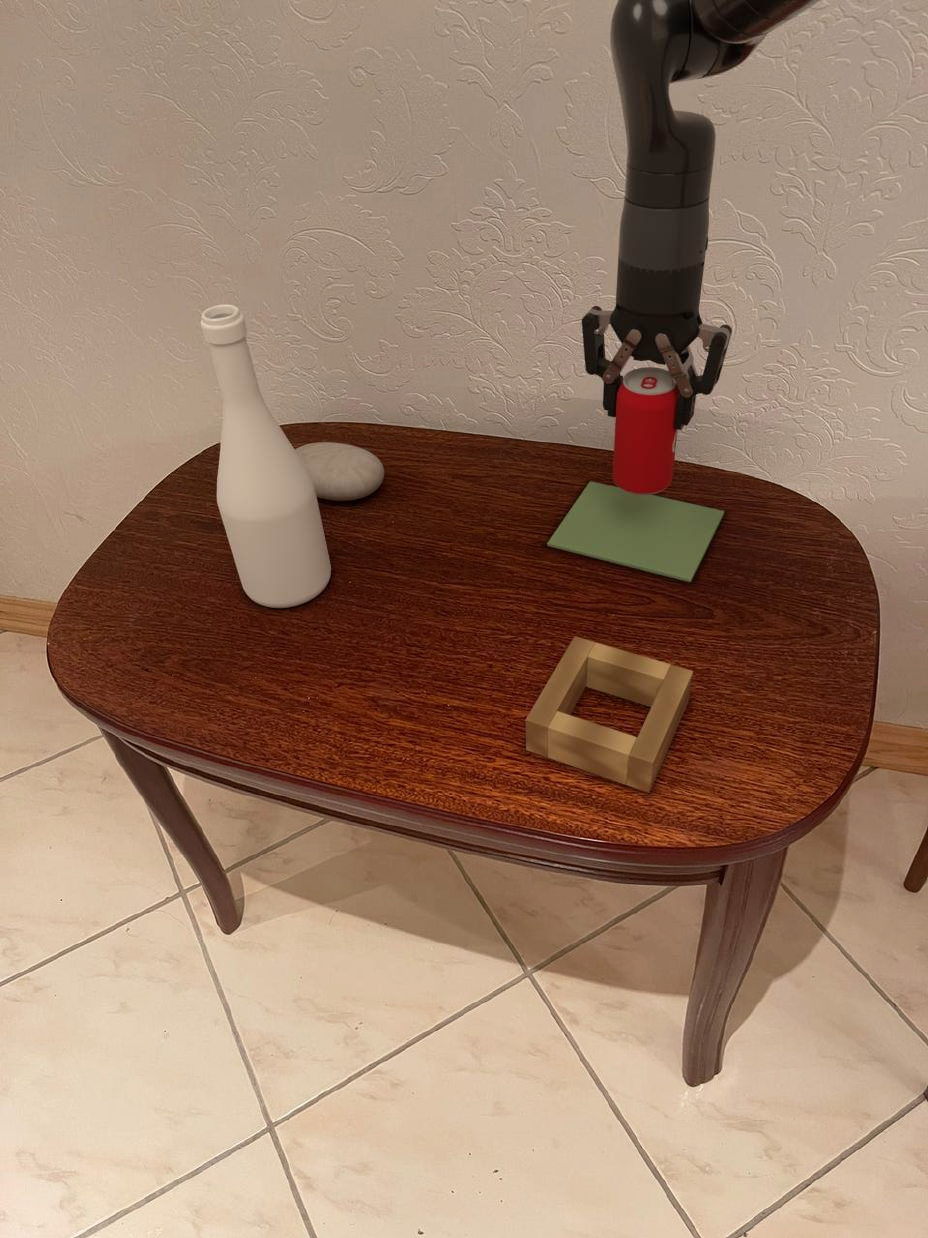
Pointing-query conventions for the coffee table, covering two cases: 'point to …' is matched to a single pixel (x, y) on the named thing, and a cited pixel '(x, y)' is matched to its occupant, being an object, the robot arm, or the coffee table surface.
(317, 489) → the decorative stone
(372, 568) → the coffee table surface
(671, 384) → the beverage can
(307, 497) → the wine bottle
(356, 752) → the coffee table surface
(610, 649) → the stand
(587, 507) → the pad
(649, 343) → the robot arm
